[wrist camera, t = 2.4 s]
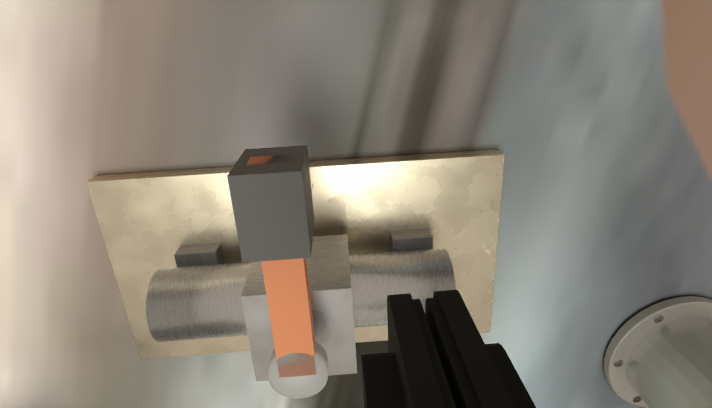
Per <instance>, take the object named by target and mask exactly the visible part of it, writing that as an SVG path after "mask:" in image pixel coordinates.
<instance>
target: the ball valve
mask: <svg viewBox="0 0 712 408" xmlns="http://www.w3.org/2000/svg"><path fill="white" fill-rule="evenodd" d="M504 160H505V154H503V153H502V152H501V151H499V150H498V149H492V150H477V151H461V152H446V153H431V154H415V155H400V156H385V157H369V158H354V159H338V160H323V161H309V170H310V180H311V190H312V200H313V210H314V230H313V241H312V252H311V258H306V262H307V271H308V280H309V289H310V298H311V307H312V316H313V325H314V334H315V341H316V342H317V343H319V344H320V345H321V346H322V347H323V348H324V349H325V351H326V353H327V356H328V375H340V374H353V373H357V364H356V349H355V343H356V342H369V341H382V340H388V320H387V295H395V294H408V293H410V294H411V296H412V299H420V300H421V303H422V306H423V309H424V312H425V301H426V298H433V293H434V291H445V290H458V291H459V293H460V294H461V297H462V299H463V301H464V303H465V305H466V307H467V309H468V311H469V313H470V315H471V317H472V319H473V321H474V323H475V325H476V327H477V329H478V331H479V333H487V332H490V327H491V315H492V303H493V291H494V279H495V267H496V255H497V243H498V231H499V219H500V207H501V195H502V183H503V171H504ZM233 167H234V166H231V167H216V168H200V169H185V170H170V171H154V172H139V173H124V174H108V175H96V176H95V177H93V178H92V179H90V180H89V181H87V182H86V183H87V187H88V190H89V193H90V196H91V199H92V203H93V206H94V209H95V212H96V216H97V219H98V222H99V225H100V228H101V232H102V235H103V238H104V241H105V244H106V248H107V251H108V254H109V257H110V260H111V264H112V267H113V270H114V273H115V276H116V280H117V283H118V286H119V289H120V293H121V296H122V299H123V302H124V305H125V309H126V312H127V315H128V318H129V321H130V325H131V328H132V331H133V334H134V337H135V341H136V344H137V347H138V350H139V354H140V357H141V359H148V358H161V357H174V356H187V355H200V354H213V353H226V352H239V351H251V355H252V360H253V365H254V371H255V376H256V381H264V380H269V379H268V372H269V366H270V361H271V356H272V353H273V351H274V349H275V346H274V340H273V333H272V327H271V321H270V314H269V308H268V302H267V295H266V289H265V283H264V276H263V270H262V264H261V261H258V262H244V263H242V258H241V252H240V246H239V241H238V235H237V229H236V224H235V218H234V212H233V207H232V201H231V195H230V190H229V184H228V178H227V175H228V174H229V173H230V171H231V170H232V168H233Z"/></svg>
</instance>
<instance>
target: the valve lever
mask: <svg viewBox="0 0 712 408" xmlns="http://www.w3.org/2000/svg"><path fill="white" fill-rule="evenodd" d="M227 178H228V184H229V190H230V195H231V201H232V207H233V212H234V218H235V224H236V229H237V235H238V241H239V246H240V252H241V258H242V263H244V262H258V261H261V264H262V270H263V276H264V283H265V289H266V295H267V302H268V308H269V314H270V321H271V327H272V333H273V340H274V346H275V349H274V351H273V353H272V356H271V361H270V366H269V372H268V379H269V383H270V385H271V386H272V388H273V389H274V390H275V391H276V392H278V393H279V394H281V395H283V396H286V397H289V398H296V399H299V398H307V397H310V396H313V395H315V394H317V393H318V392H319V391H321V390H322V389H323V387H324V386H325V384H326V382H327V378H328V356H327V353H326V351H325V349H324V348H323V347H322V346H321V345H320V344H319V343H317V342H316V341H315V334H314V325H313V316H312V307H311V298H310V289H309V280H308V271H307V262H306V258H311V252H312V241H313V230H314V210H313V200H312V190H311V180H310V170H309V160H308V149H307V146H291V147H275V148H260V149H245V151H244V152H243V154H242V155H241V157H240V158H239V160H238V161H237V162H236V164H235V165H234V167H233V168H232V170H231V171H230V173H229V174H228V175H227Z"/></svg>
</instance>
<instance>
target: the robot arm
mask: <svg viewBox="0 0 712 408" xmlns="http://www.w3.org/2000/svg"><path fill="white" fill-rule="evenodd" d="M387 320H388V353H378V354H366V355H361V366H362V383H363V396H364V408H536V407H535V405H534V403H533V401H532V399H531V398H530V396H529V394H528V392H527V390H526V388H525V386H524V385H523V383H522V381H521V379H520V377H519V375H518V373H517V372H516V370H515V368H514V366H513V364H512V362H511V360H510V359H509V357H508V355H507V353H506V351H505V350H504V348H503V347H502V345H500V344H499V343H496V344H484V342H483V340H482V338H481V336H480V334H479V331H478V329H477V327H476V325H475V323H474V321H473V319H472V317H471V315H470V313H469V311H468V309H467V307H466V305H465V303H464V301H463V299H462V297H461V294H460V293H459V291H458V290H445V291H434V293H433V298H426V301H425V312H424V309H423V306H422V303H421V300H420V299H412V296H411V294H410V293H408V294H395V295H387ZM604 373H605V377H606V379H607V381H608V383H609V385H610V386H611V388H612V389H613V390H614V391H615V392H616V394H617V395H618V396H619V397H621V398H622V399H623V400H624V401H626V402H628V403H630V404H632V405H636V406H640V407H645V408H712V300H711V299H708V298H705V297H695V296H688V297H678V298H673V299H669V300H665V301H662V302H660V303H657V304H654V305H652V306H650V307H648V308H646V309H644V310H643V311H641V312H639V313H638V314H636V315H635V316H634V317H632V318H631V319H630V320H628V321H627V322H626V323H625V324H624V325H623V326H622V327H621V328H620V329H619V330H618V332H617V333H616V334H615V336H614V337H613V338H612V340H611V342H610V344H609V346H608V348H607V350H606V354H605V358H604Z"/></svg>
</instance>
